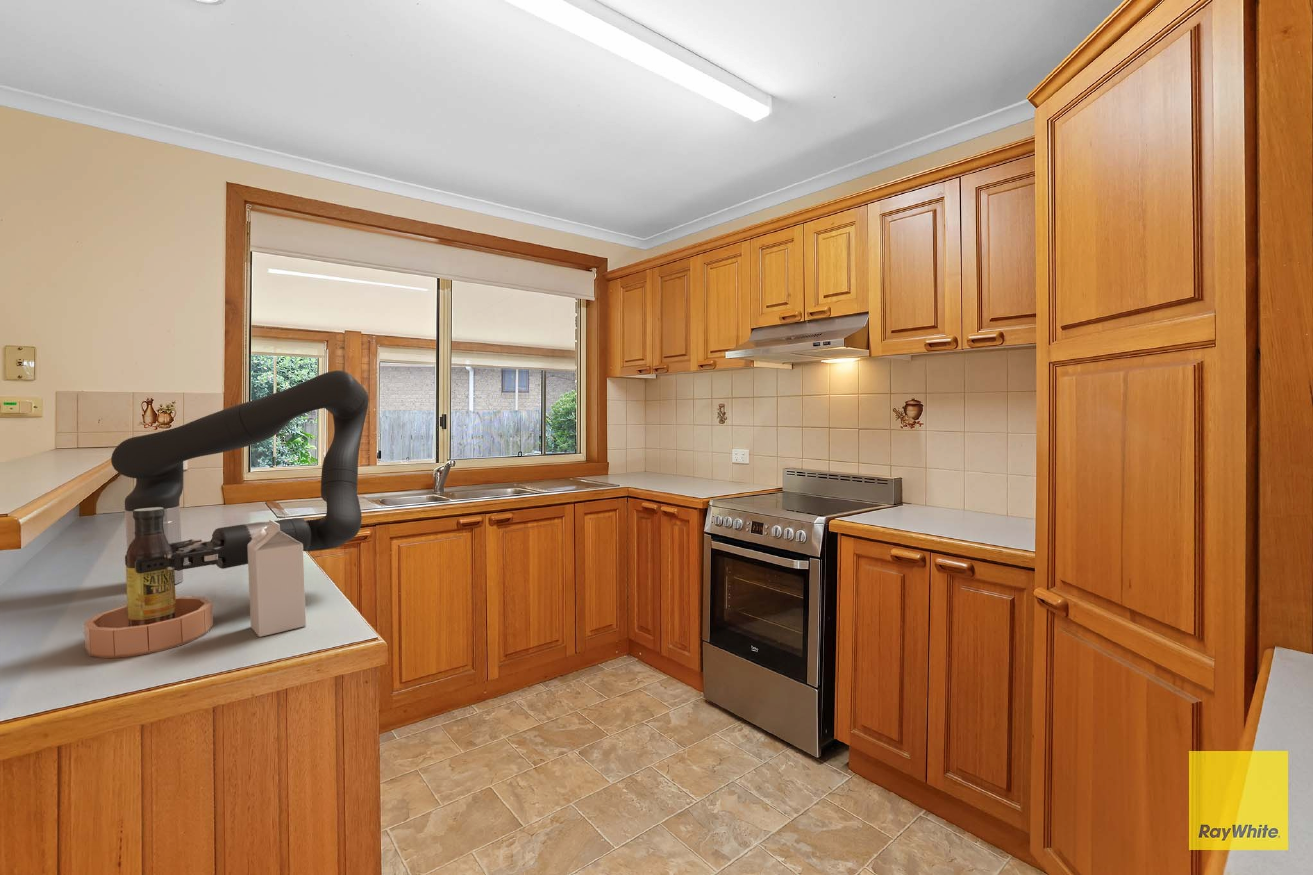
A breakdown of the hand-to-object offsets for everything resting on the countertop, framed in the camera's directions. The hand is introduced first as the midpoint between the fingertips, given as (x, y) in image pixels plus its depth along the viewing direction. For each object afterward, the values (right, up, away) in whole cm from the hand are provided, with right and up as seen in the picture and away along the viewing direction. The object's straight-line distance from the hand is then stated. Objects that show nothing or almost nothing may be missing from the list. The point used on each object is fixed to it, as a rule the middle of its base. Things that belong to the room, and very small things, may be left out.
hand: (130, 563), depth 98 cm
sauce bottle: (+2, -11, +3) cm, 11 cm away
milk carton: (+20, -13, +7) cm, 25 cm away
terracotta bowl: (+1, -13, +2) cm, 14 cm away
